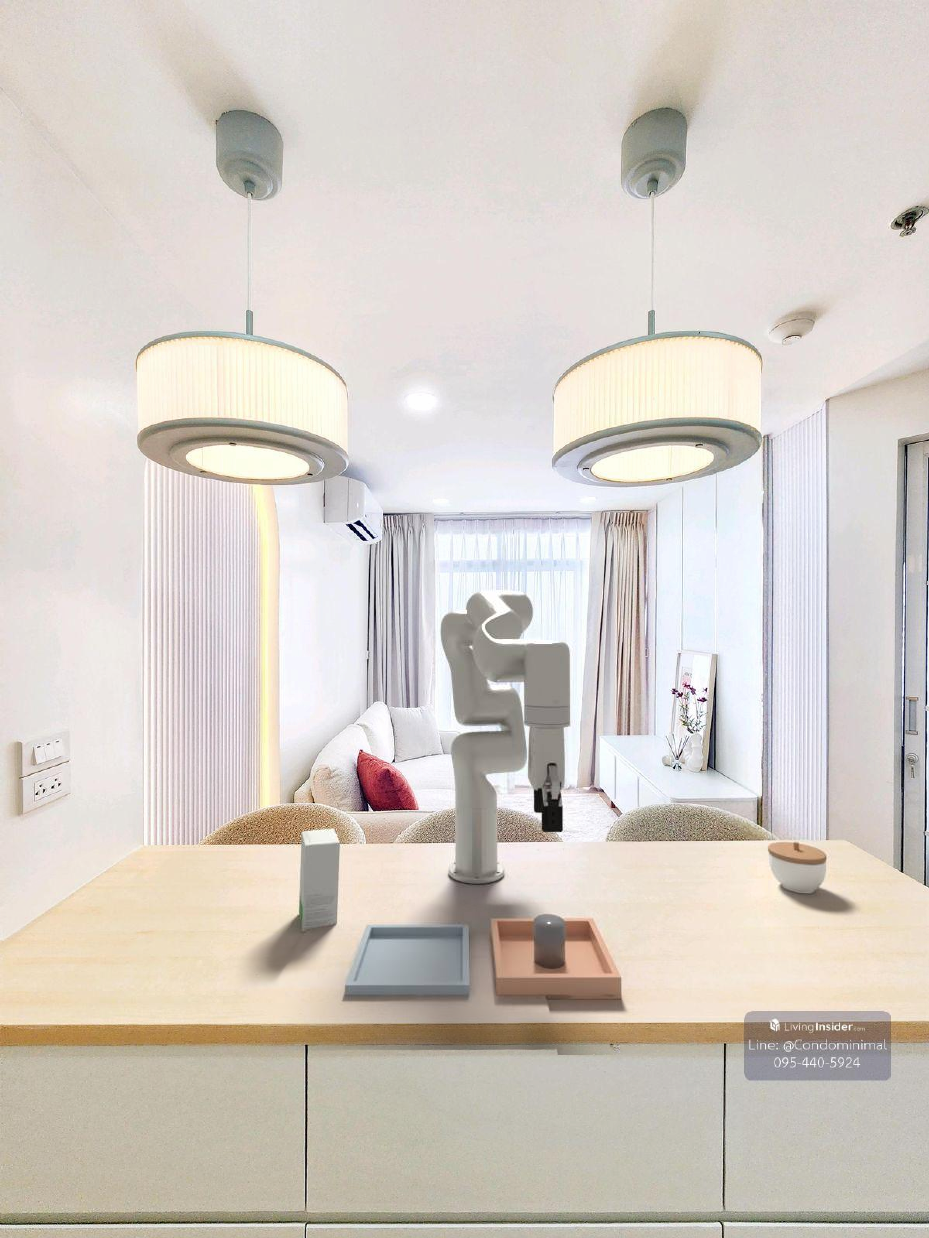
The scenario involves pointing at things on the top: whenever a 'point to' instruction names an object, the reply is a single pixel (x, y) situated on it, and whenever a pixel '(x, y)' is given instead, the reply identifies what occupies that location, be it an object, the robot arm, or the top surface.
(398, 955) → the parts tray
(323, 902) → the skincare box
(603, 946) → the terracotta dish
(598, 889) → the top surface
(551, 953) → the gray metal cylinder
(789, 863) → the lidded jar
